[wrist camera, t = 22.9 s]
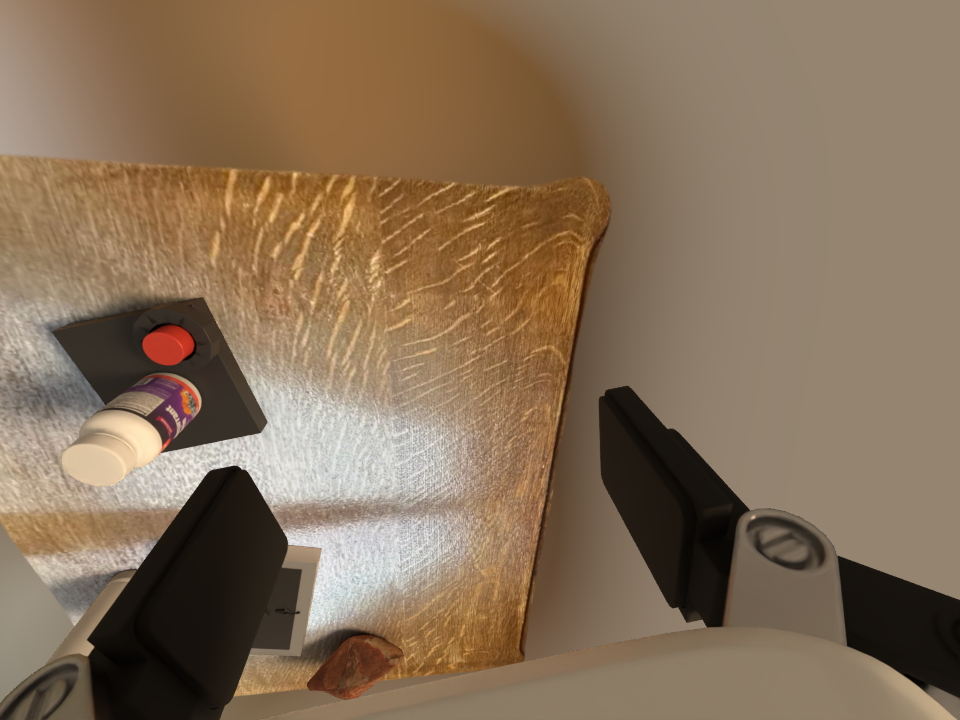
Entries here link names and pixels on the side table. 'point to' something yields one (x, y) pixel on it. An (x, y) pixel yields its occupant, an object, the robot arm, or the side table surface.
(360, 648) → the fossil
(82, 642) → the travel mug
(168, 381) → the pill bottle
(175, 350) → the button
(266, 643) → the picture frame
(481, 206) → the side table surface
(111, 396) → the black base plate
